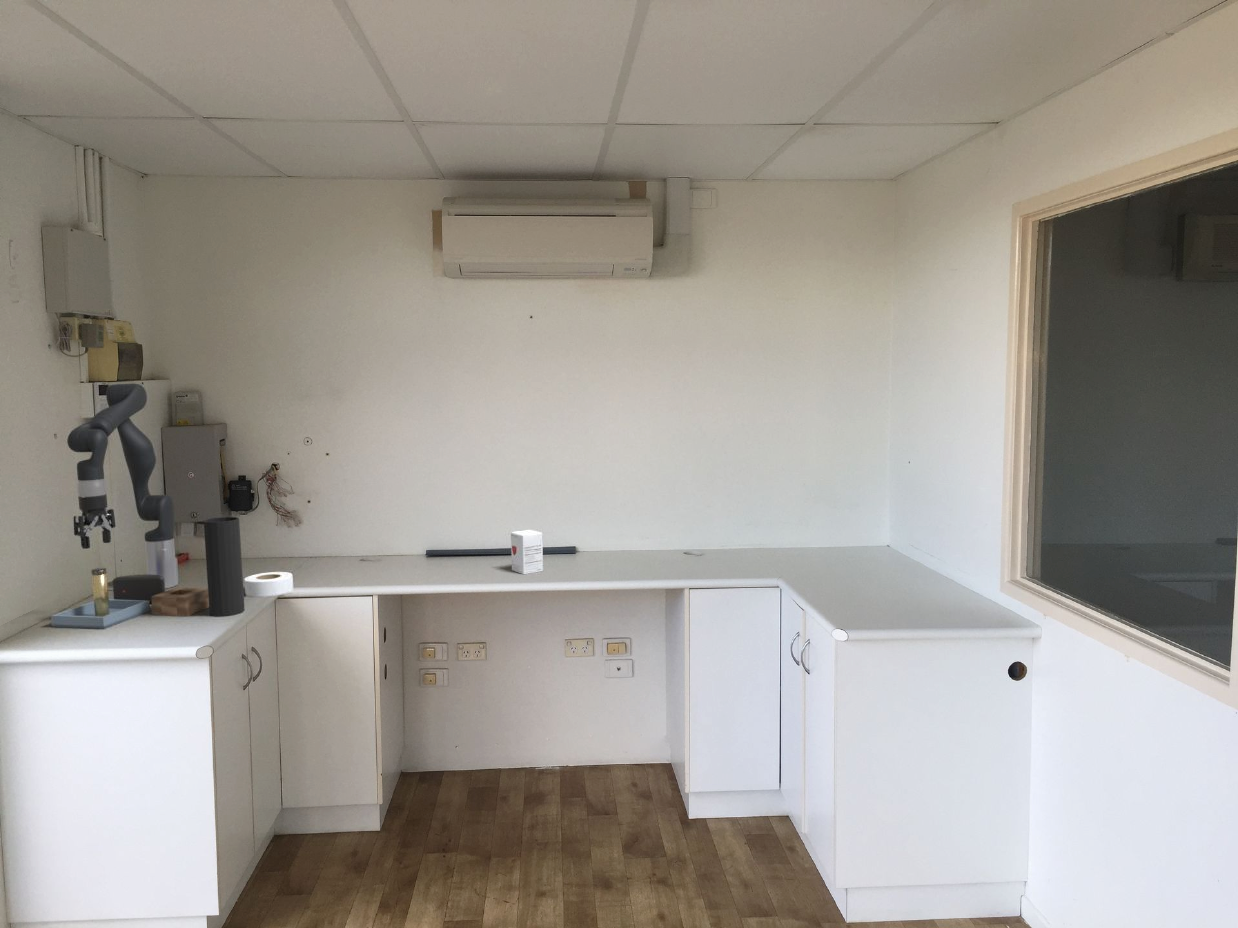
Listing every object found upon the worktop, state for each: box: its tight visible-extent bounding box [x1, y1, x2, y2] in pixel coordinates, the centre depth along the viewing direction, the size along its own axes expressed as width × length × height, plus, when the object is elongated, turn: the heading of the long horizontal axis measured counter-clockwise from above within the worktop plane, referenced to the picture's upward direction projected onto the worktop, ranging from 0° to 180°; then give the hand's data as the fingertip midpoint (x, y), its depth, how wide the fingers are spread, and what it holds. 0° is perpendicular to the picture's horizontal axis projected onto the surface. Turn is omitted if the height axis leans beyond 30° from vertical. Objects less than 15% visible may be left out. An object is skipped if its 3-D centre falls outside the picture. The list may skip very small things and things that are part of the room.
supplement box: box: [510, 529, 544, 575], centre depth 334 cm, size 9×9×15 cm
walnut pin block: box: [151, 586, 209, 617], centre depth 284 cm, size 12×12×6 cm
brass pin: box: [91, 567, 110, 617], centre depth 276 cm, size 4×4×15 cm
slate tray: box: [50, 598, 151, 630], centre depth 276 cm, size 20×18×4 cm
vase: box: [203, 516, 246, 618], centre depth 280 cm, size 10×10×30 cm
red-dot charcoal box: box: [112, 573, 166, 605], centre depth 295 cm, size 16×5×9 cm, turn 96°
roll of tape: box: [243, 571, 294, 598], centre depth 309 cm, size 16×16×6 cm
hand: (96, 545), depth 274 cm, fingers open, 8 cm apart
